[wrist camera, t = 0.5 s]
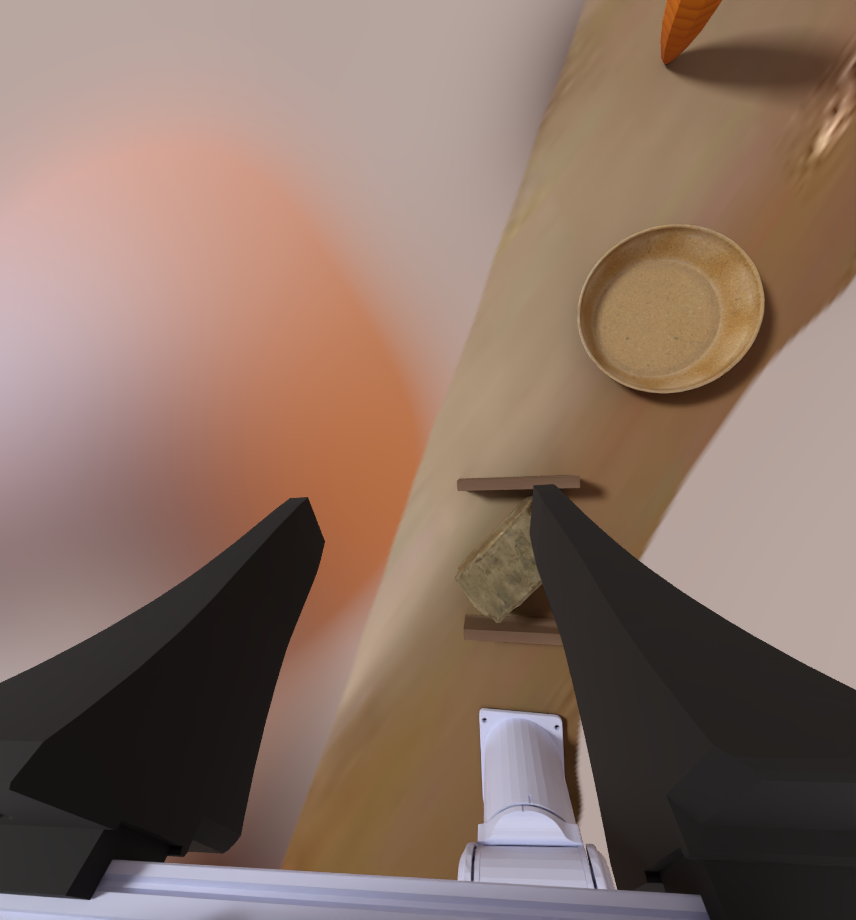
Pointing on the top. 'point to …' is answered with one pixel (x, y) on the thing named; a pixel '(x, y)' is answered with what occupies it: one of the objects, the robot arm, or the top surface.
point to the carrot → (683, 24)
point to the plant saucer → (670, 308)
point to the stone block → (502, 567)
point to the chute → (511, 626)
